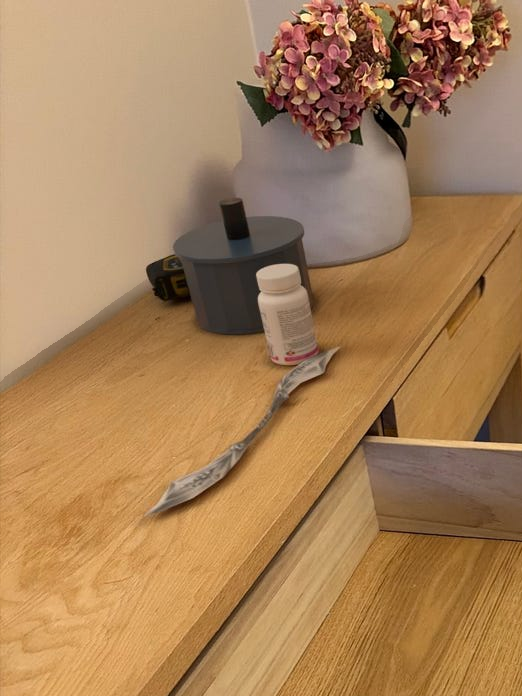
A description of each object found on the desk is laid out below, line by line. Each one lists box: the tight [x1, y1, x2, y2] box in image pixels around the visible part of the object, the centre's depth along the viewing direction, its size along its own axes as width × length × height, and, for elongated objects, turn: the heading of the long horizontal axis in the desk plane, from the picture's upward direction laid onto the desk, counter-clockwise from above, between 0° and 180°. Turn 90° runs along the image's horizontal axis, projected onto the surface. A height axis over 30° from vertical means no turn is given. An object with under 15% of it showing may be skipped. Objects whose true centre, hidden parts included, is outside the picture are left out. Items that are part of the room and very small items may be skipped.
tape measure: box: [145, 253, 191, 302], centre depth 113 cm, size 7×7×4 cm
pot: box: [181, 238, 314, 336], centre depth 105 cm, size 13×13×8 cm
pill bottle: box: [256, 264, 319, 366], centre depth 94 cm, size 5×5×8 cm
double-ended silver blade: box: [143, 345, 342, 517], centre depth 86 cm, size 32×1×5 cm
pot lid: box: [172, 197, 305, 264], centre depth 102 cm, size 14×14×5 cm
